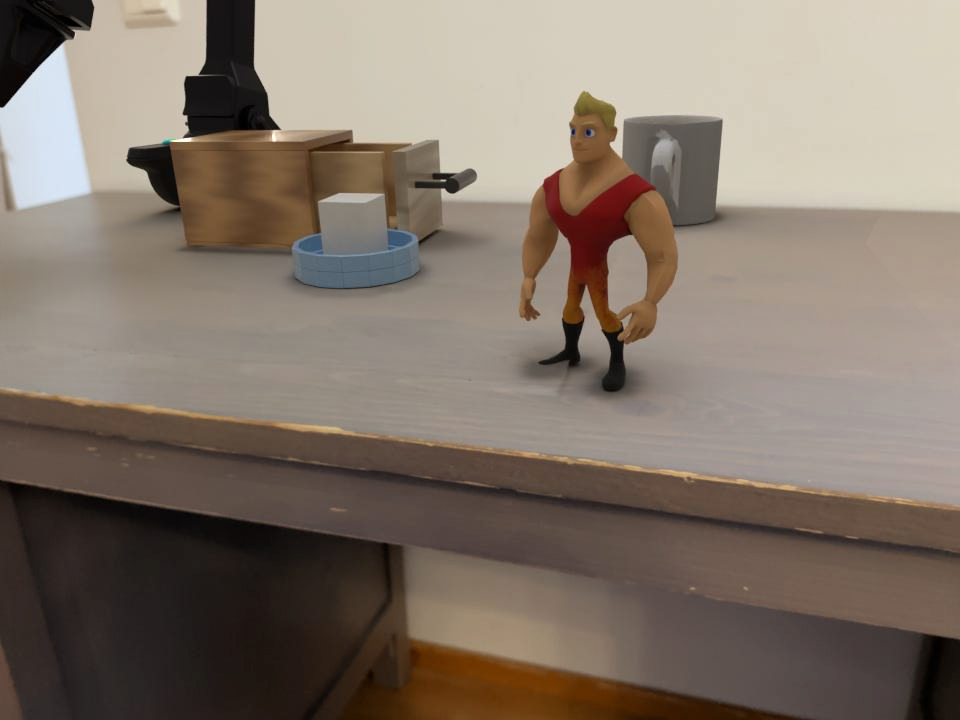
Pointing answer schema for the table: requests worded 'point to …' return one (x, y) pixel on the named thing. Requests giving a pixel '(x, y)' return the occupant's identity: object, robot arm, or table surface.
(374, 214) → the block
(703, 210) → the coffee mug
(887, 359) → the table surface
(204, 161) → the cabinet
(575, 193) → the action figure
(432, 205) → the drawer
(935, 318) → the table surface
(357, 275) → the bowl
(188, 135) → the controller
